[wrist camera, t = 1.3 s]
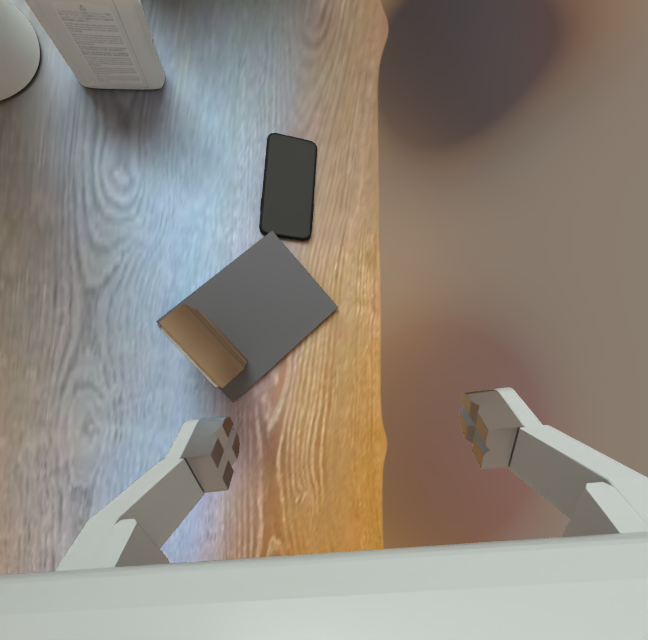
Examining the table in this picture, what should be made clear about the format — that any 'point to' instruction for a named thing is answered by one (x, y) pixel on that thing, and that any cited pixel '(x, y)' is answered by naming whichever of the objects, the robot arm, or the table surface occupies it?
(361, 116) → the table surface
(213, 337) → the wooden block
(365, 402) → the table surface
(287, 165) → the smartphone
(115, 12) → the photo printer
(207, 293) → the mat
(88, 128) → the table surface
